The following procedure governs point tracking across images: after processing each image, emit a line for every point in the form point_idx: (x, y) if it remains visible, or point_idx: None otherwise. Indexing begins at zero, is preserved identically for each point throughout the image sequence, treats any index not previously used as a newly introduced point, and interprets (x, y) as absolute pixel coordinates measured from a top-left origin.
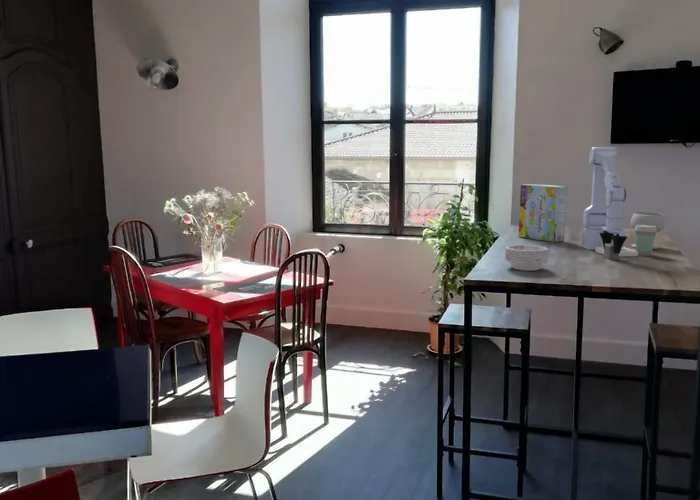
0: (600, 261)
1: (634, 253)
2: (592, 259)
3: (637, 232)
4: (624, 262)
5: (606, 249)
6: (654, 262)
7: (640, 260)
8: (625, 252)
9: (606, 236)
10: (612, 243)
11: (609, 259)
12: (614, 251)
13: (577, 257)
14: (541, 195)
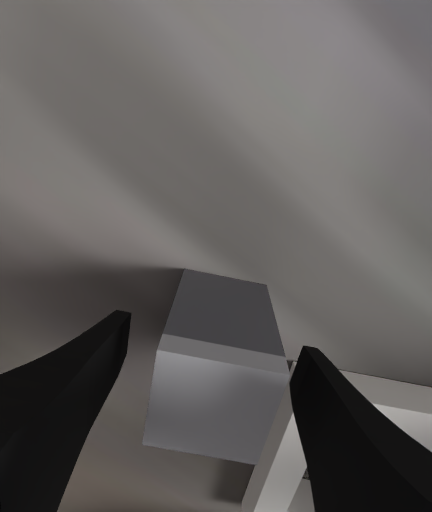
0: (133, 141)
1: (247, 507)
2: (242, 137)
3: None
4: (61, 302)
5: (238, 323)
6: None
7: (114, 434)
8: (264, 473)
9: (361, 507)
10: (246, 438)
11: (183, 273)
12: (108, 316)
13: (394, 51)
14: None
